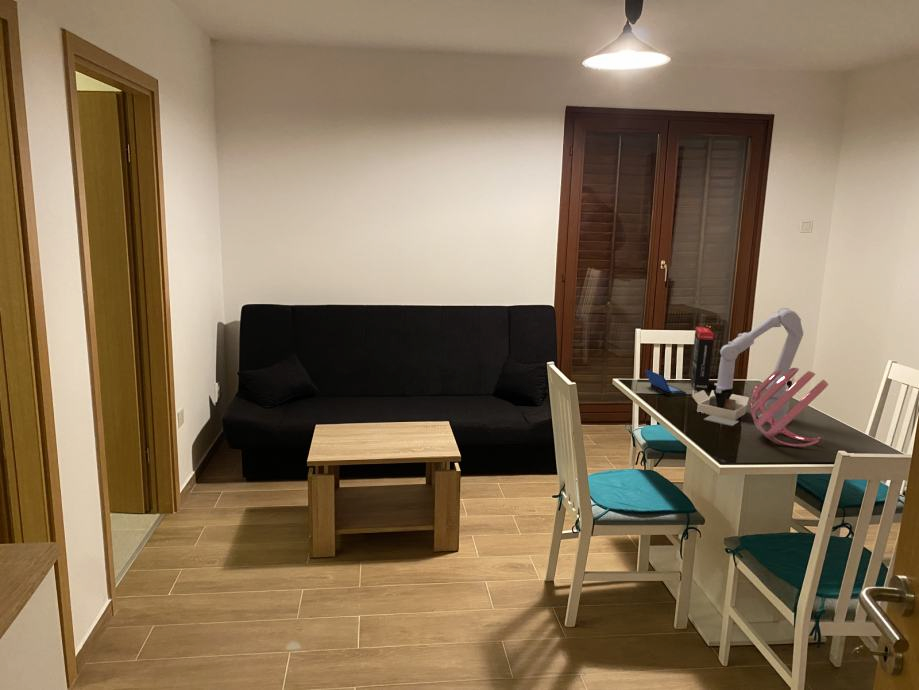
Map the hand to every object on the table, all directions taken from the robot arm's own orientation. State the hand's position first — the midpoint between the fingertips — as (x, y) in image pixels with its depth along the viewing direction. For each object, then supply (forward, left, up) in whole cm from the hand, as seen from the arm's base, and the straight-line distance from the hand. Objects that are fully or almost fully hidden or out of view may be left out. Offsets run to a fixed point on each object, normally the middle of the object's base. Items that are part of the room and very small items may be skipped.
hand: (721, 407), depth 278 cm
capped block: (0, 0, -1) cm, 1 cm away
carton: (0, -1, -2) cm, 3 cm away
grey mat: (-4, +12, -2) cm, 13 cm away
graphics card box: (+23, -38, -3) cm, 44 cm away
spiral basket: (-28, +19, -3) cm, 34 cm away
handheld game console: (+31, -16, -3) cm, 35 cm away
